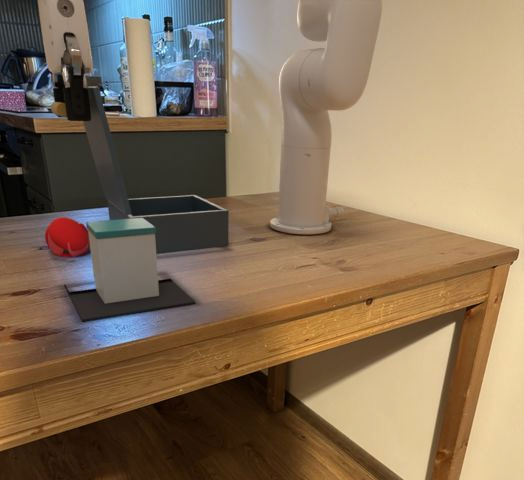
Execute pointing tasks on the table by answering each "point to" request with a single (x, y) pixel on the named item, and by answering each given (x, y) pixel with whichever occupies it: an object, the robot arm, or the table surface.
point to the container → (124, 259)
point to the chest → (179, 221)
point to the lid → (102, 150)
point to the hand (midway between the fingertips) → (73, 119)
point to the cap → (67, 237)
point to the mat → (128, 302)
